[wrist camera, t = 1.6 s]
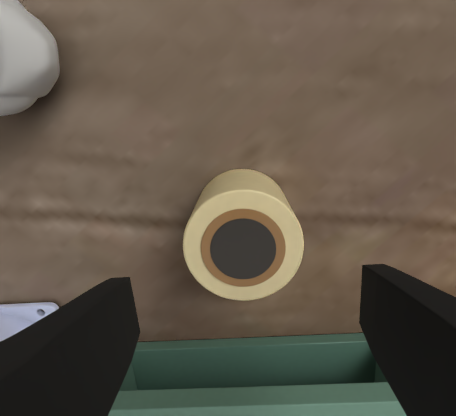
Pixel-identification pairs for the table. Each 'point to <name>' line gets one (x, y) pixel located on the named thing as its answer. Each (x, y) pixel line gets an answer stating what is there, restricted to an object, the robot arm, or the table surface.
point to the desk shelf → (256, 378)
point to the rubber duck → (24, 58)
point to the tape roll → (243, 237)
